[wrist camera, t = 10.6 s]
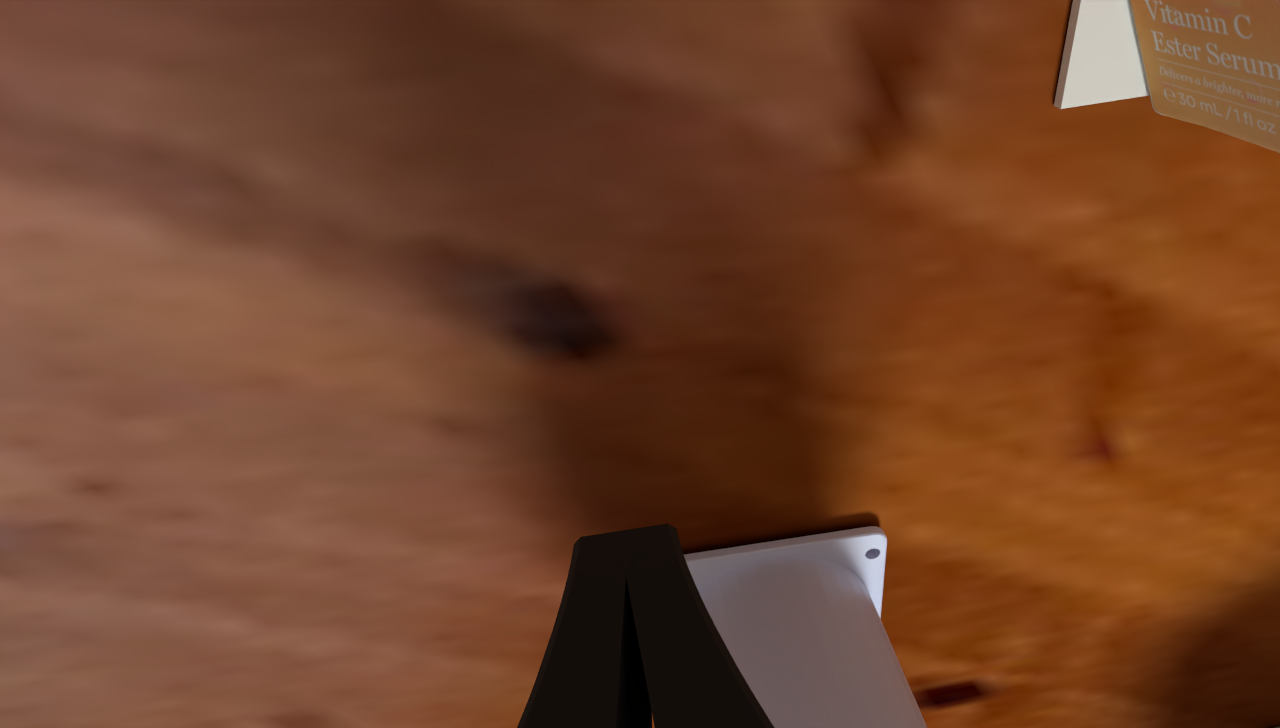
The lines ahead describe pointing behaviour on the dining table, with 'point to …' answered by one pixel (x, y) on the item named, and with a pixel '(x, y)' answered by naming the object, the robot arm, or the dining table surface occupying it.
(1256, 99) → the small box
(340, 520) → the dining table surface
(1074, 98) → the mat
